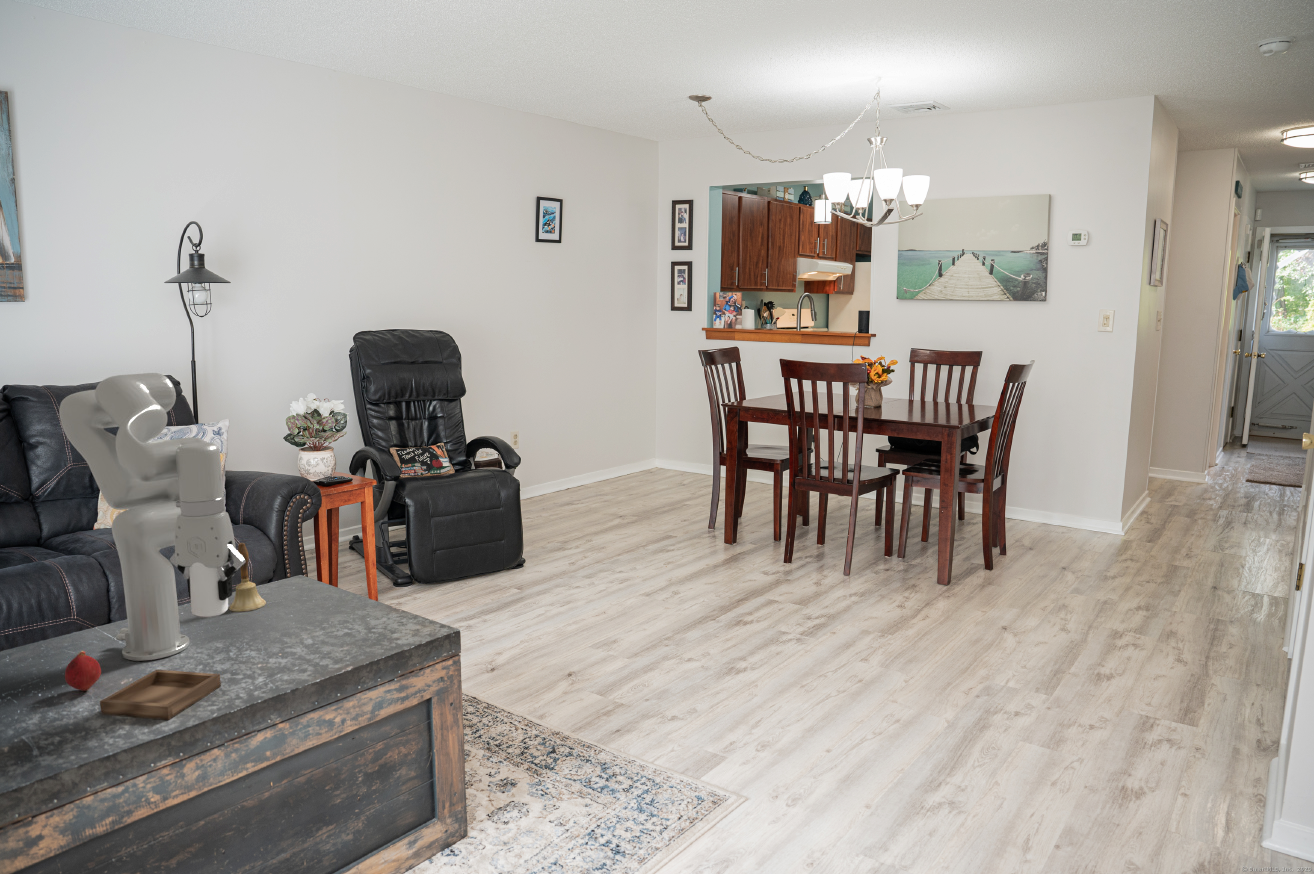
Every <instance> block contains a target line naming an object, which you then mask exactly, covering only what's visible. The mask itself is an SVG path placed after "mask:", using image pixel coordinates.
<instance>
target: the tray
mask: <svg viewBox="0 0 1314 874" xmlns="http://www.w3.org/2000/svg"><path fill="white" fill-rule="evenodd" d="M221 687H222V684H221V674H220V673H219V674H218V673H206V672H195V671H183V670H181V671H180V670H167V669H155V670H153V671H150V673H148V674H146V675H144V676H143V677H140V678H139V679H137V680H136V681H133V682H131V683H130V684H129V685H126V686H124V687H122V688H121V689H119V690H117V691H116V692H113V693H112V694H110V695H108V696H107V697H105V698H103V699H102V700H100V701H99V704H100V706H99V707H100V714H101V715H104V716H105V715H106V716H107V715H109V716H118V717H131V718H139V719H140V718H142V719H154V720H164V721H169V720H171V719H173V718H175V717H176V716H178V715H180V714H181V713H182V712H184V711H185V710H187V709H188V708H190V707H191V706H193V705H195V704H197V702H199V701H201V700H202V699H203V698H205V697H207V696H209V695H210V694H212V693H213V692H214V691H216V690H217V689H219V688H221Z"/></svg>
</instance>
